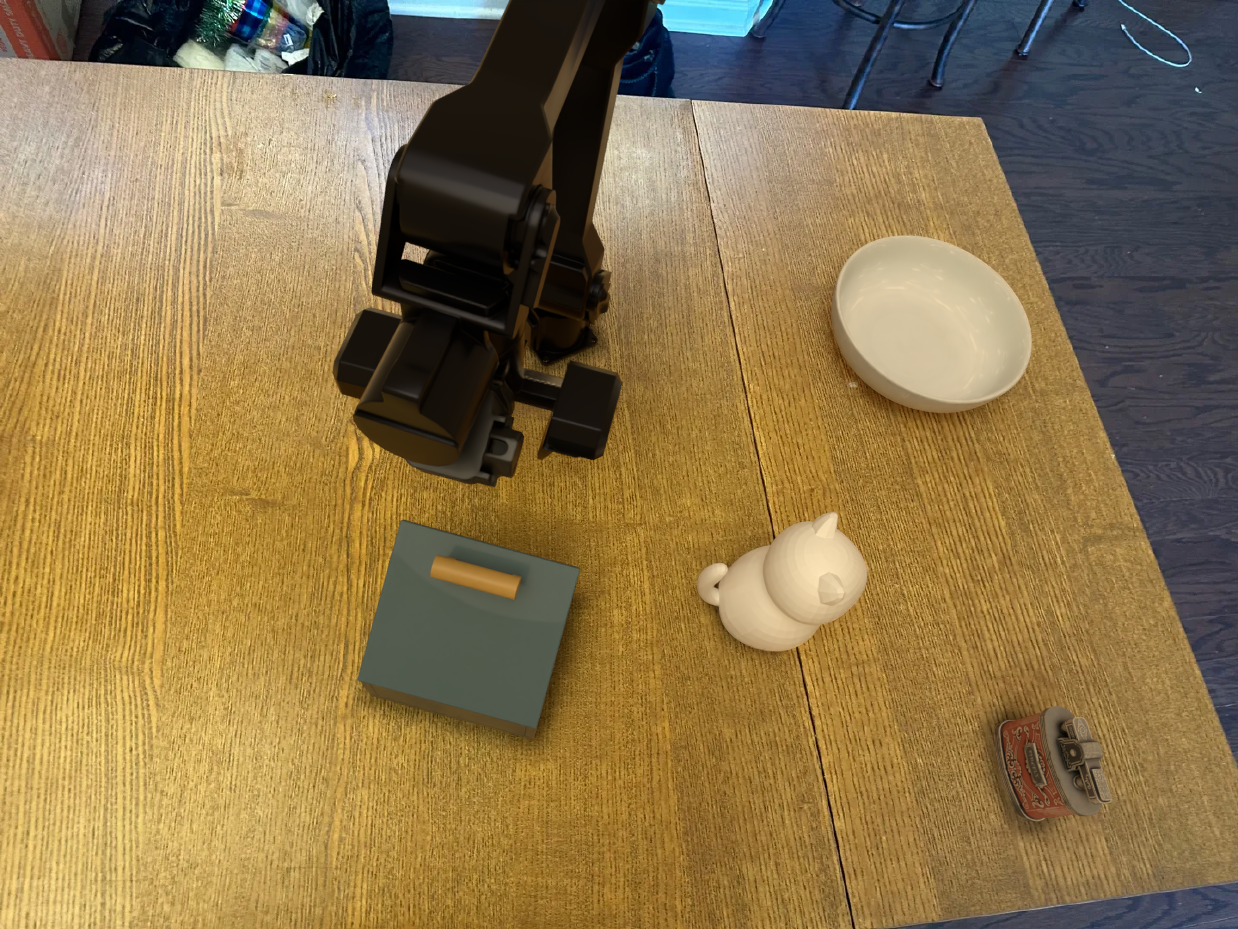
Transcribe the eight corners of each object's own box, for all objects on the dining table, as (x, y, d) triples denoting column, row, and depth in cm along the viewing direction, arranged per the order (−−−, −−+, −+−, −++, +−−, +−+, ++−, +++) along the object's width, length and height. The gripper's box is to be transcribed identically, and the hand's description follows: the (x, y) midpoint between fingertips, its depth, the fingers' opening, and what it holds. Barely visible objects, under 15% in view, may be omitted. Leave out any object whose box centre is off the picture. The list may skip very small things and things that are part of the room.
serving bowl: (878, 461, 81) (909, 428, 75) (778, 302, 89) (799, 260, 83) (1034, 402, 87) (1075, 366, 81) (929, 257, 95) (958, 215, 89)
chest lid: (403, 519, 60) (385, 524, 55) (580, 567, 60) (578, 577, 55) (359, 678, 60) (338, 697, 55) (537, 726, 60) (530, 749, 55)
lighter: (986, 722, 71) (1056, 701, 62) (1021, 720, 71) (1095, 698, 62) (1014, 823, 67) (1092, 815, 58) (1050, 820, 68) (1133, 811, 59)
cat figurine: (824, 662, 71) (899, 614, 58) (685, 654, 70) (728, 603, 57) (816, 566, 75) (883, 500, 62) (684, 556, 74) (724, 487, 61)
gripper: (271, 389, 45) (326, 500, 59) (596, 475, 45) (574, 565, 59) (346, 241, 50) (380, 376, 64) (638, 318, 50) (609, 436, 64)
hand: (483, 439), depth 63 cm, fingers open, 9 cm apart
